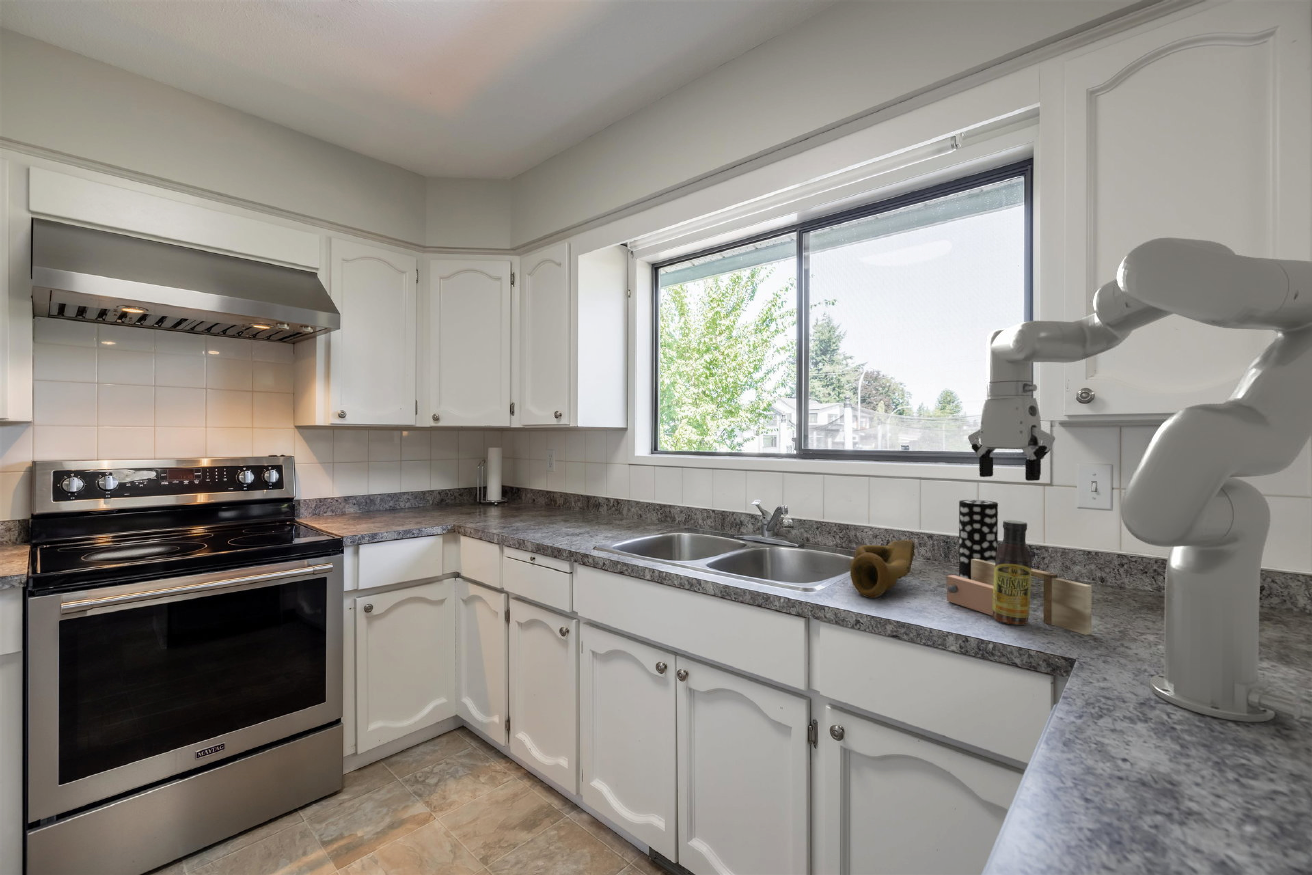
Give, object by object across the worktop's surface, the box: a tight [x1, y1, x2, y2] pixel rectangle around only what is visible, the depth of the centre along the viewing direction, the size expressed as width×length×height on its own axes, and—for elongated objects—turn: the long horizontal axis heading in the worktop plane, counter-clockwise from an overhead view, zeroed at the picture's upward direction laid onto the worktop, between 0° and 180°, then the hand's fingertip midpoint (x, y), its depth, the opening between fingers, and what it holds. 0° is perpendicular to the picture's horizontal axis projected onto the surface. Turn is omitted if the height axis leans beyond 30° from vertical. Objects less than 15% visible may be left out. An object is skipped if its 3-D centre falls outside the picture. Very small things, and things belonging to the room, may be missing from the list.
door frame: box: [971, 559, 1093, 636], centre depth 118 cm, size 24×2×10 cm, turn 22°
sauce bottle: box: [992, 519, 1032, 626], centre depth 114 cm, size 6×6×20 cm
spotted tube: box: [958, 499, 999, 580], centre depth 142 cm, size 8×8×20 cm
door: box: [946, 574, 994, 617], centre depth 122 cm, size 11×3×6 cm, turn 22°
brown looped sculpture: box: [849, 539, 915, 599], centre depth 140 cm, size 18×13×22 cm
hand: (1008, 478), depth 115 cm, fingers open, 9 cm apart
